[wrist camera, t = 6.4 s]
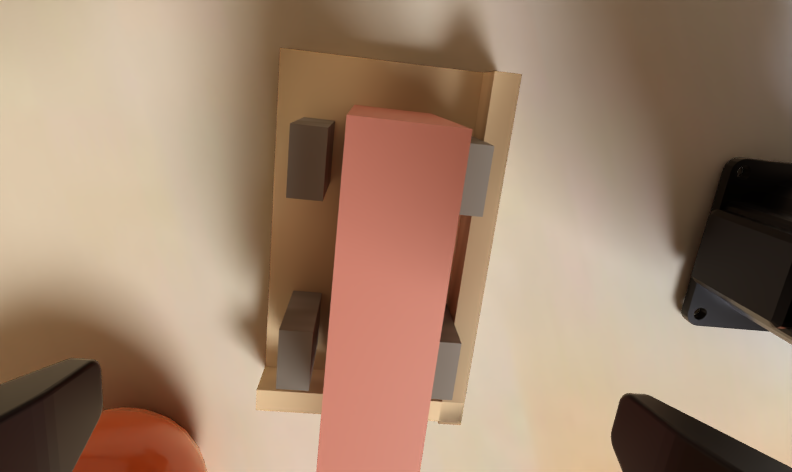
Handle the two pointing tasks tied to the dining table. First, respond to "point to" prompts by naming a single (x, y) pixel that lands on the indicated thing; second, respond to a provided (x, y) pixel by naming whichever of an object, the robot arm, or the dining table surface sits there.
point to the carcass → (319, 204)
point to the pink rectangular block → (389, 286)
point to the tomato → (139, 444)
